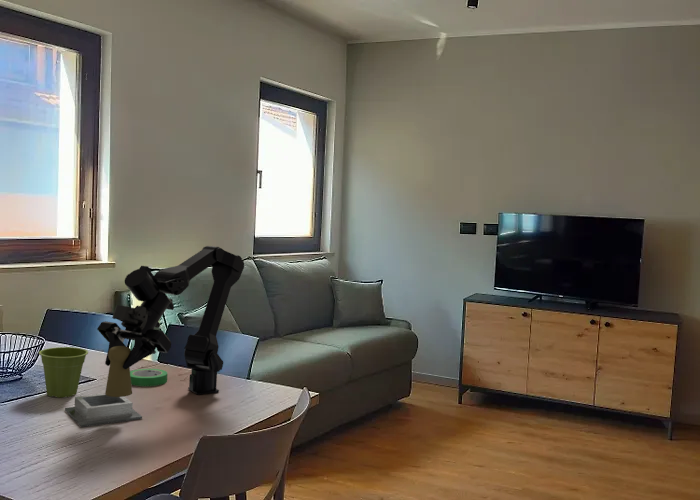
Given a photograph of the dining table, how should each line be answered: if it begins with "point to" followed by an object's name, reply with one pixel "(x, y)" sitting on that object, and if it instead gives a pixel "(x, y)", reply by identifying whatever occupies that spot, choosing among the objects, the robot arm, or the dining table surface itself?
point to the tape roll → (148, 377)
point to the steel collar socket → (101, 410)
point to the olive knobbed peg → (118, 373)
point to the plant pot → (62, 370)
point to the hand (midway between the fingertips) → (115, 366)
